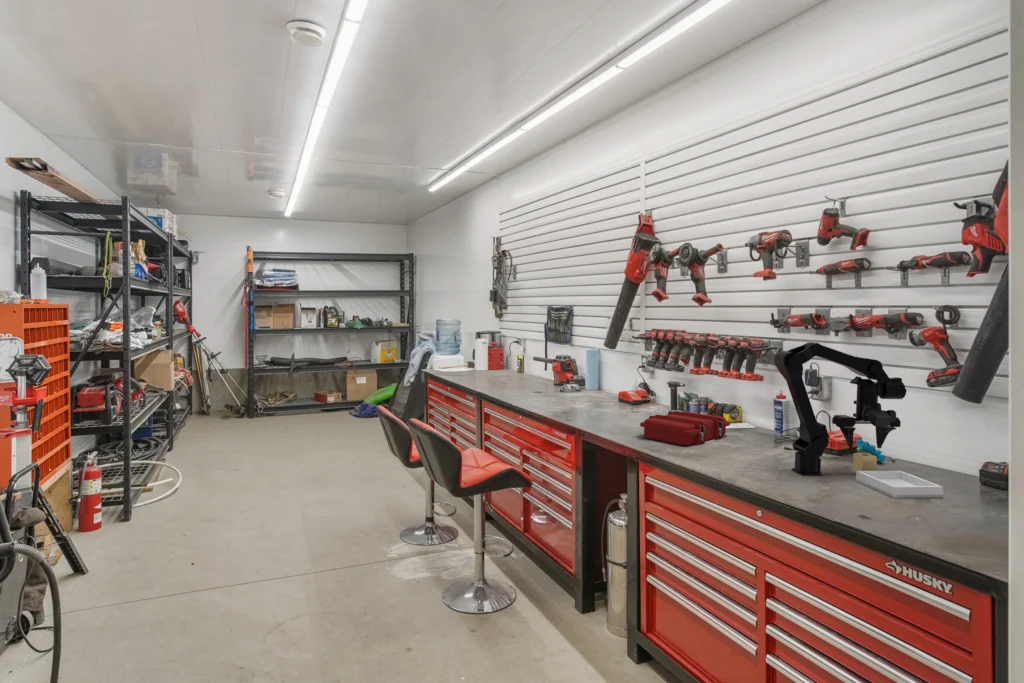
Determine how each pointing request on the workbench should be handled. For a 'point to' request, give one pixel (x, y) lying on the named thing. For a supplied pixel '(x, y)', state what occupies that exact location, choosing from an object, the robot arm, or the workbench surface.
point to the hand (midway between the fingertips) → (864, 448)
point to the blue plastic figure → (869, 450)
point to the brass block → (864, 462)
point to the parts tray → (899, 484)
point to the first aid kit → (684, 427)
